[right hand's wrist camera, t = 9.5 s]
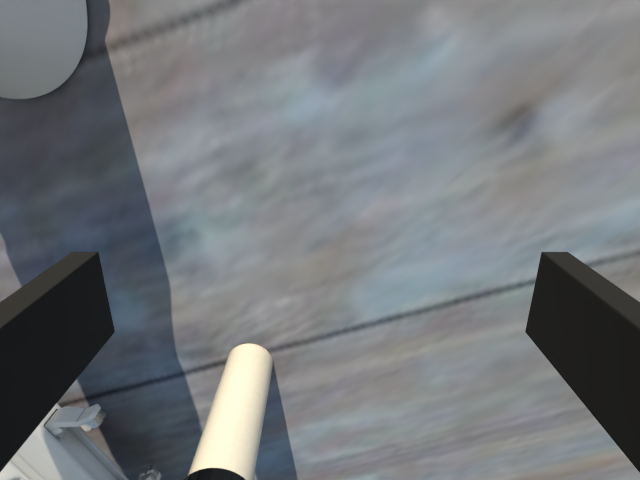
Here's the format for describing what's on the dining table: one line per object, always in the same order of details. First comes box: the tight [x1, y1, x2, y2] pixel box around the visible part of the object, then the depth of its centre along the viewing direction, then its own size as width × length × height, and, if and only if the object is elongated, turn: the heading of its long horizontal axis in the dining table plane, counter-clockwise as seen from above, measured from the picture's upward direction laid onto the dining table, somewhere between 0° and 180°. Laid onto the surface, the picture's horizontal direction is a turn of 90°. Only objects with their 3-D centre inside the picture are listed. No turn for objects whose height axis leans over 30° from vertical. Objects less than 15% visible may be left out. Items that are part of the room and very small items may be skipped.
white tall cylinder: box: [188, 344, 273, 480], centre depth 38 cm, size 5×5×17 cm
